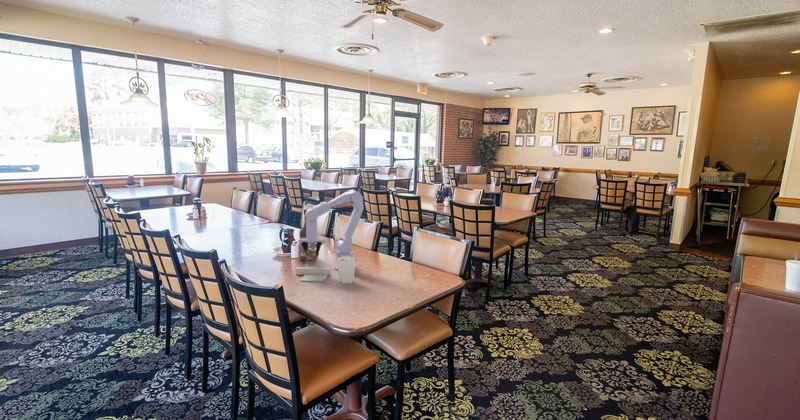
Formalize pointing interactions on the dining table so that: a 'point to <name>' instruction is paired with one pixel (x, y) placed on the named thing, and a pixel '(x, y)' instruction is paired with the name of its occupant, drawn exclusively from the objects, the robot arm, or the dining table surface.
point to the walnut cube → (311, 254)
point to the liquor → (302, 235)
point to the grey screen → (313, 271)
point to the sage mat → (314, 278)
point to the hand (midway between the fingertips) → (312, 255)
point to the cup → (346, 269)
